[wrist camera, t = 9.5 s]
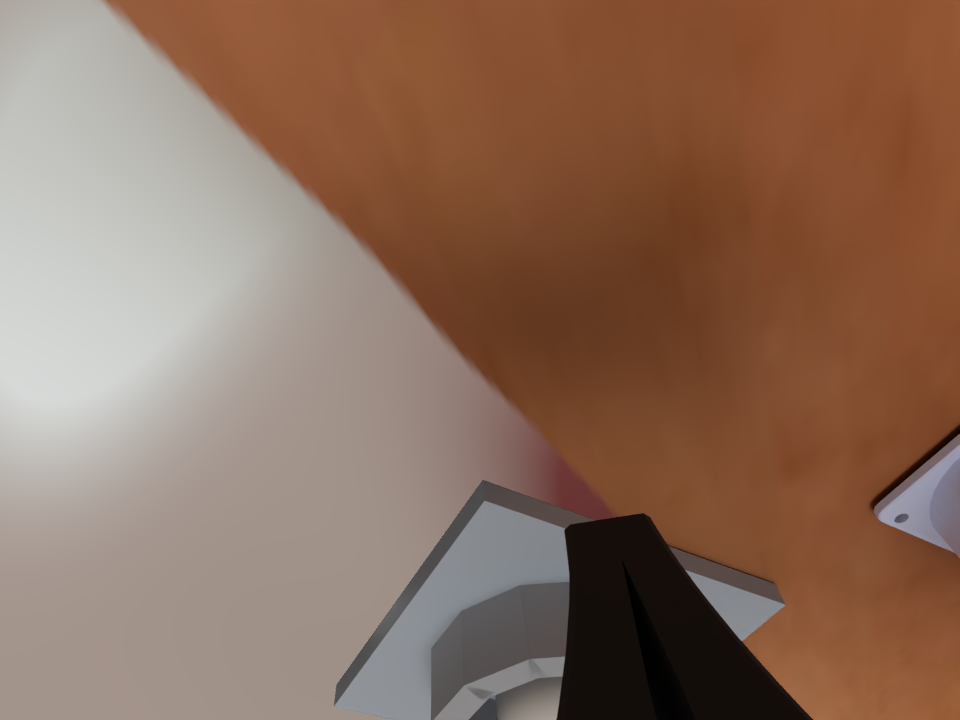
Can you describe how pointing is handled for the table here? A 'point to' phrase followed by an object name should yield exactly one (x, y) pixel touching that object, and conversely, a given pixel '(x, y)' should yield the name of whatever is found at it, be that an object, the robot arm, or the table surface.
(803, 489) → the table surface
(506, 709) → the white rounded cylinder
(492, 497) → the square flange mount
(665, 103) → the table surface
